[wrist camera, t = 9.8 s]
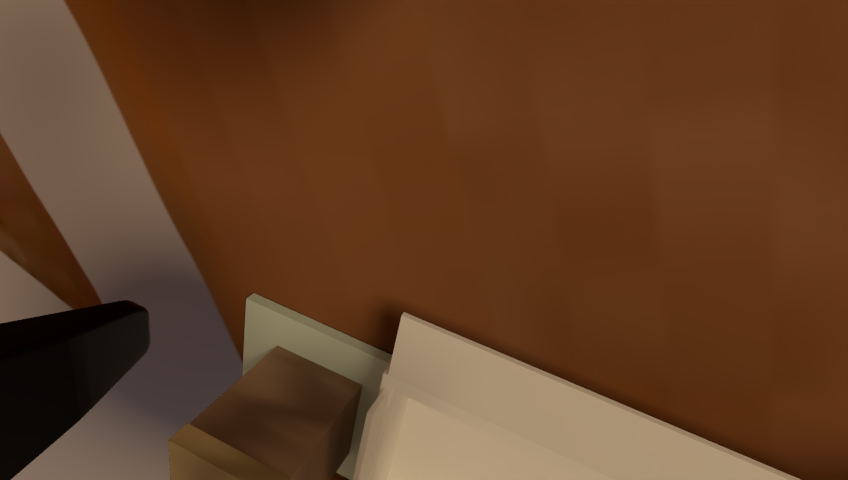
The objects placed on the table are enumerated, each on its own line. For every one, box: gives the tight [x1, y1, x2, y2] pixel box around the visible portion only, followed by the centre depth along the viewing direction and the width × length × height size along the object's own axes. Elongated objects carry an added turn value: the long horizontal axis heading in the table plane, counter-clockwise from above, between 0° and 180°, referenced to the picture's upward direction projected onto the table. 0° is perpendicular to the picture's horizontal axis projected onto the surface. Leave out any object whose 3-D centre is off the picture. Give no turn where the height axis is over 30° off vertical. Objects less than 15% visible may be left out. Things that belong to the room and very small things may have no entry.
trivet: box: [242, 293, 392, 480], centre depth 27 cm, size 9×9×1 cm
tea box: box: [168, 345, 362, 480], centre depth 24 cm, size 5×5×7 cm
